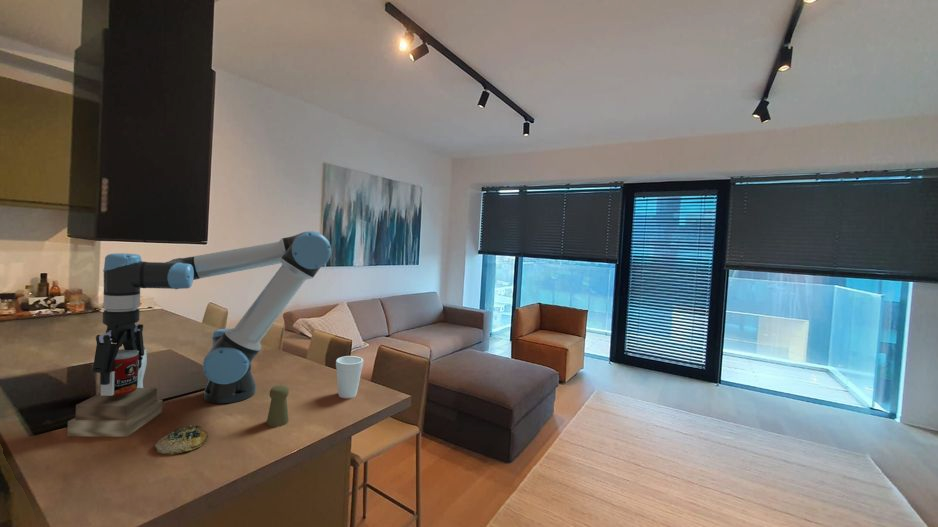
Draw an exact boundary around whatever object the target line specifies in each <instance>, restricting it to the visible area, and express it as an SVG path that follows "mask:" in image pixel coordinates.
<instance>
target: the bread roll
mask: <svg viewBox="0 0 938 527" xmlns="http://www.w3.org/2000/svg"><path fill="white" fill-rule="evenodd" d="M208 440H209V433H208V430H207V429H205V428H203V427H201V425H198V424H197V425H188V426H186V427H181V428H176V429H175V430H174V431H172V432H170V433H168V434H166V435H164V436H162V437H161V438H159V440H158V441H157V442H156V443H155V445H154V447H155V449H156V452H157V453H158V454H163V455H178V454H182V453H185V452H188V453H189V452H192V451H195V450H197V449H199V448H201V447H202V446H203V445H205V443H207V442H208Z"/></svg>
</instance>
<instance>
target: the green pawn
mask: <svg viewBox="0 0 938 527" xmlns="http://www.w3.org/2000/svg"><path fill="white" fill-rule="evenodd" d="M289 392H290V391H289V387H288V386H287V385H284V384H283V385H282V384H280V385H279V384H278V385H274V386H273V387H272V388H271V389H270V390H269V398H271V400H270V405H269V408H268V409H269V410H268V414H267V420H266V426H268V427H270V426H272V427H271V428H278V427H277V426H279V427H282V425H283V426H285V425H286V424H288V423H289V420H290V419H289V412H288V401H287V400H288V399H287V398H288V395H289Z"/></svg>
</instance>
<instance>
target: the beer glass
mask: <svg viewBox="0 0 938 527" xmlns="http://www.w3.org/2000/svg"><path fill="white" fill-rule="evenodd" d="M138 352H139V351H138ZM141 357H143V359H142V360H138V386H137V388H144V377H145V374H146V369H147V362H148V356H147V347H146V346H144V356H141Z"/></svg>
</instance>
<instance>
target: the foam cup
mask: <svg viewBox="0 0 938 527" xmlns="http://www.w3.org/2000/svg"><path fill="white" fill-rule="evenodd" d="M363 367H364V359H363V357H360V356H355V355H345V356H341V357H338V358H336V360H335V369H336V379H337V392H338V397H339V398H342V399H352V398H355V397H356V396H357V393H358V389H359V385H360V379H361V376H362V375H361V374H362V369H363Z"/></svg>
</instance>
